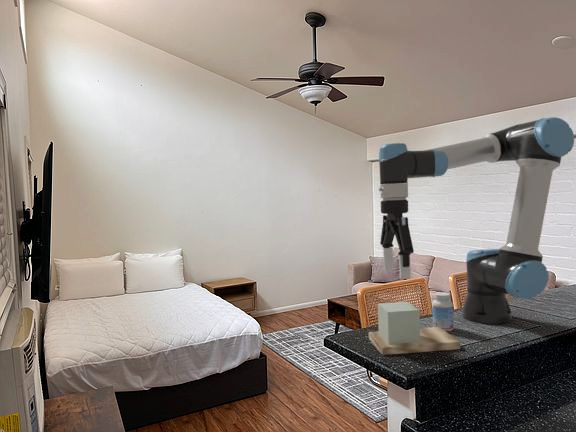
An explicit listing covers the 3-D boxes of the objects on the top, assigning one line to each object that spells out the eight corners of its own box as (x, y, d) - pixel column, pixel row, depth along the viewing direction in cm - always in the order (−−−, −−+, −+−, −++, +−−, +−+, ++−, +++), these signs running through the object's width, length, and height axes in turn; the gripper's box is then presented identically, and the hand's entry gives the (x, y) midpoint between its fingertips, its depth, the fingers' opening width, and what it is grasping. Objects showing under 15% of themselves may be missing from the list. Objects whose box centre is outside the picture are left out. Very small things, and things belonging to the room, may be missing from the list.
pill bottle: (455, 332, 127) (454, 296, 127) (434, 331, 129) (433, 296, 128) (451, 326, 133) (451, 291, 133) (431, 325, 135) (430, 291, 134)
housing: (408, 331, 124) (407, 301, 124) (420, 341, 115) (419, 309, 115) (378, 333, 124) (377, 303, 123) (388, 344, 115) (387, 312, 114)
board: (439, 333, 127) (438, 326, 127) (460, 348, 114) (460, 341, 114) (368, 338, 125) (368, 331, 125) (382, 354, 112) (382, 347, 112)
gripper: (368, 199, 129) (370, 267, 131) (396, 200, 105) (399, 283, 106) (392, 198, 130) (394, 265, 131) (425, 199, 105) (427, 282, 106)
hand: (396, 273), depth 119 cm, fingers open, 13 cm apart
